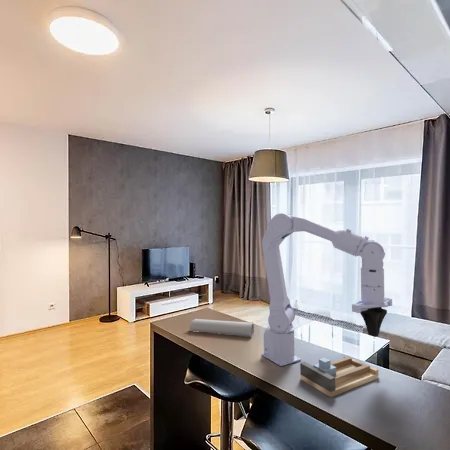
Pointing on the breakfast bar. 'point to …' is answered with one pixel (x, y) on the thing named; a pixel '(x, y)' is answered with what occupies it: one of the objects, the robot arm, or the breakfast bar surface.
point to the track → (338, 376)
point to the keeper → (326, 366)
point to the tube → (223, 327)
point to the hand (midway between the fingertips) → (373, 335)
